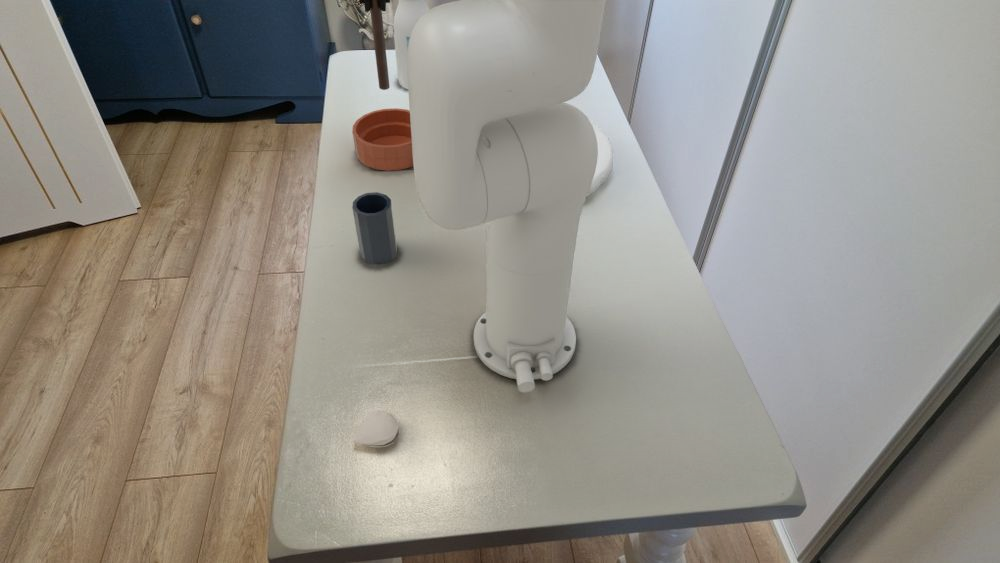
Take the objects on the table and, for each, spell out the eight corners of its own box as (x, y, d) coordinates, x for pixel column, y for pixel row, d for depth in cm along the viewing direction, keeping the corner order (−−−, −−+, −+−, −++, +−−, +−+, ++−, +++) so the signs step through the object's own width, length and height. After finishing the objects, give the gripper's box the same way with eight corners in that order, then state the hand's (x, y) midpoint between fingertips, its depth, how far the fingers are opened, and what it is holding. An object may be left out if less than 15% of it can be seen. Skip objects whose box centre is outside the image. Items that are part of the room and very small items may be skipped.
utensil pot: (397, 265, 91) (391, 214, 85) (360, 268, 90) (351, 216, 84) (397, 242, 95) (391, 191, 88) (362, 244, 94) (353, 193, 88)
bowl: (430, 171, 108) (429, 145, 104) (355, 175, 106) (350, 149, 103) (427, 132, 116) (426, 106, 113) (357, 135, 115) (354, 110, 112)
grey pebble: (405, 442, 71) (403, 429, 69) (361, 463, 69) (358, 450, 67) (389, 413, 73) (387, 400, 72) (347, 432, 71) (343, 419, 70)
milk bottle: (395, 91, 127) (384, -16, 113) (401, 72, 133) (391, -32, 119) (435, 92, 127) (429, -15, 113) (439, 73, 132) (434, -31, 119)
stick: (389, 89, 102) (376, -32, 90) (379, 90, 102) (365, -32, 90) (389, 84, 103) (377, -36, 91) (379, 85, 103) (365, -36, 91)
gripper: (291, -134, 78) (317, 20, 91) (424, -135, 79) (431, 17, 92) (297, -149, 83) (321, -1, 96) (421, -149, 85) (429, -4, 98)
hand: (375, 7), depth 94 cm, fingers closed on stick, 1 cm apart
